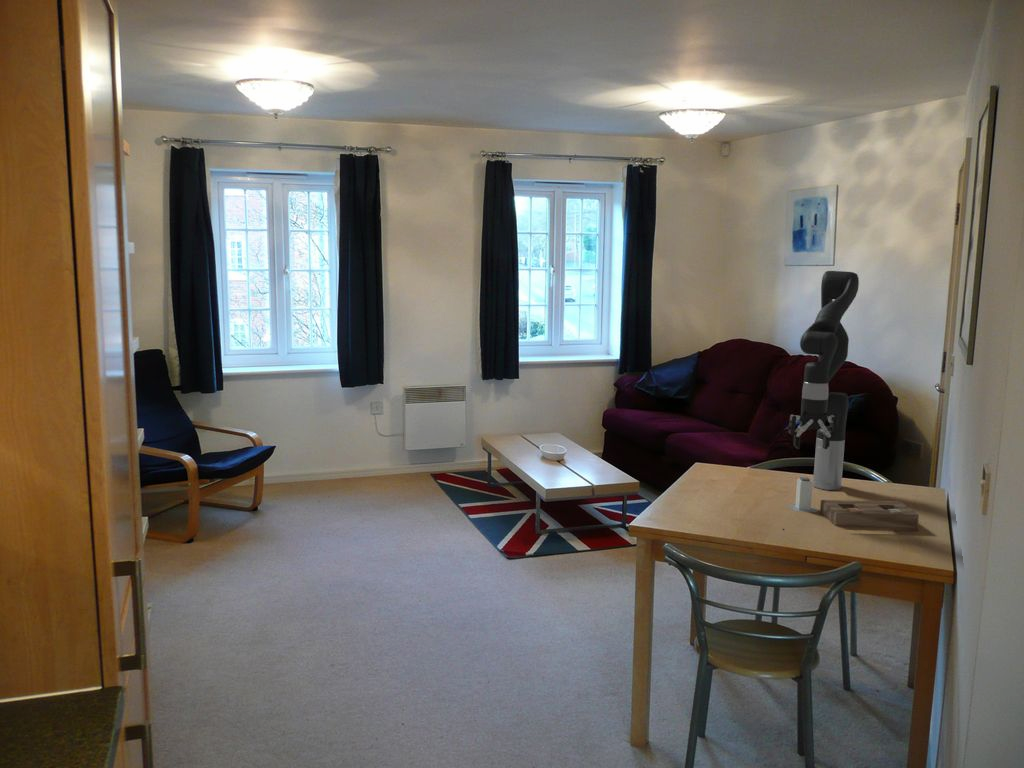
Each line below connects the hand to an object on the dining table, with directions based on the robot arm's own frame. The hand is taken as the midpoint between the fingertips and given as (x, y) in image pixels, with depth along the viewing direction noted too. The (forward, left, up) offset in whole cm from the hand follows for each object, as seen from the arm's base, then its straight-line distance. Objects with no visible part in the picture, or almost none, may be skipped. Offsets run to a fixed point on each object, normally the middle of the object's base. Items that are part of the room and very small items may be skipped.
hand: (811, 448), depth 262 cm
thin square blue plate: (-1, -1, -20) cm, 20 cm away
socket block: (+10, +15, -20) cm, 27 cm away
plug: (-1, -1, -19) cm, 19 cm away
